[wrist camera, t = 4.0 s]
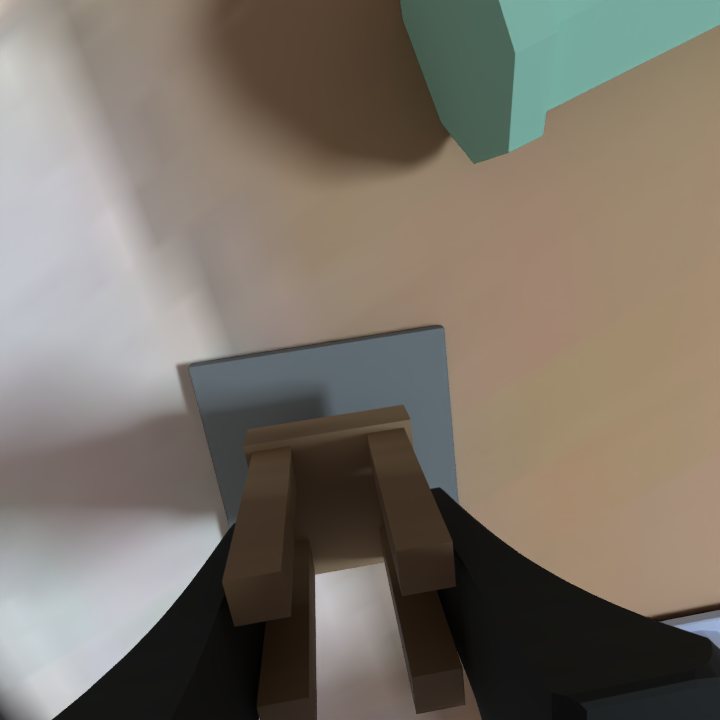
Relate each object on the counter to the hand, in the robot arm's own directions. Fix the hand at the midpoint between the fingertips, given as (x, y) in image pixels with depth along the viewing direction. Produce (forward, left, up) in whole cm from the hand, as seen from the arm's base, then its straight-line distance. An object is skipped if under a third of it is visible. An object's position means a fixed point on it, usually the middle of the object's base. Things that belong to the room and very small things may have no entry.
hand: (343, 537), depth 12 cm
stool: (0, 0, -2) cm, 2 cm away
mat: (0, 0, -4) cm, 4 cm away
